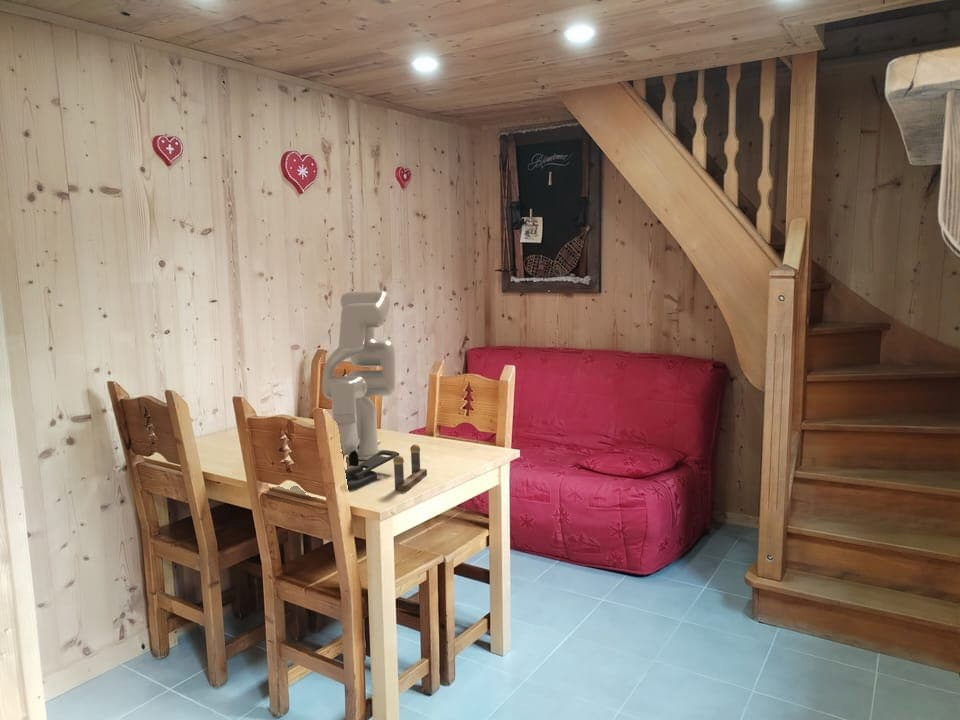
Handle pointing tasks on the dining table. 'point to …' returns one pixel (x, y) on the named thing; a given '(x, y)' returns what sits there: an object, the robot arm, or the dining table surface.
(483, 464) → the dining table surface
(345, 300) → the robot arm
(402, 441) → the dining table surface
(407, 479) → the peg stop rail
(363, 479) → the zipper pull
